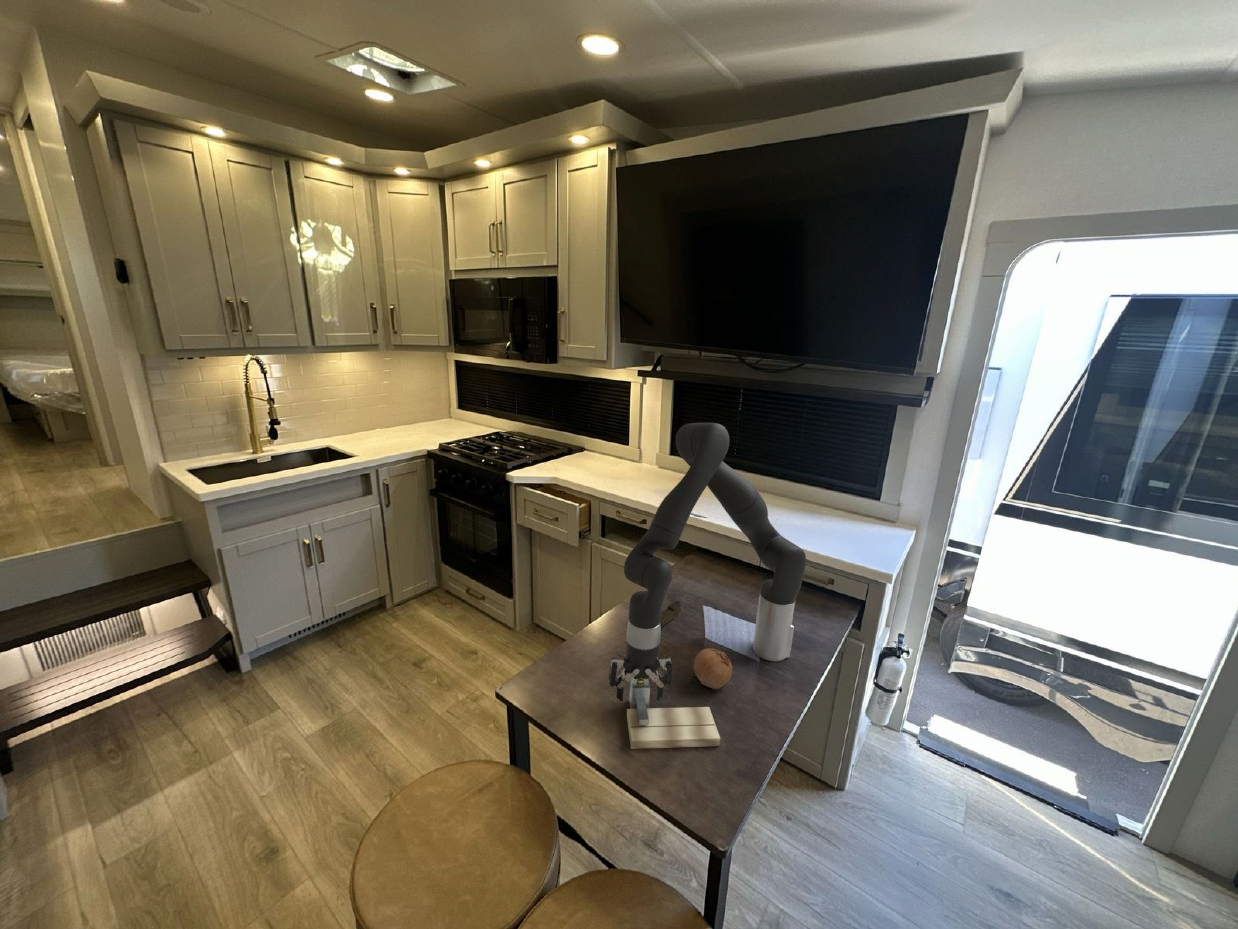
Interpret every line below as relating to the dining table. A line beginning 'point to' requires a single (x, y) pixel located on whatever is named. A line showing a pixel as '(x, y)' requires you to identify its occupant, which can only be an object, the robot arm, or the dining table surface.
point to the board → (673, 728)
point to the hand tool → (670, 613)
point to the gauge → (640, 699)
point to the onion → (713, 668)
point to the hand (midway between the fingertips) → (638, 698)
